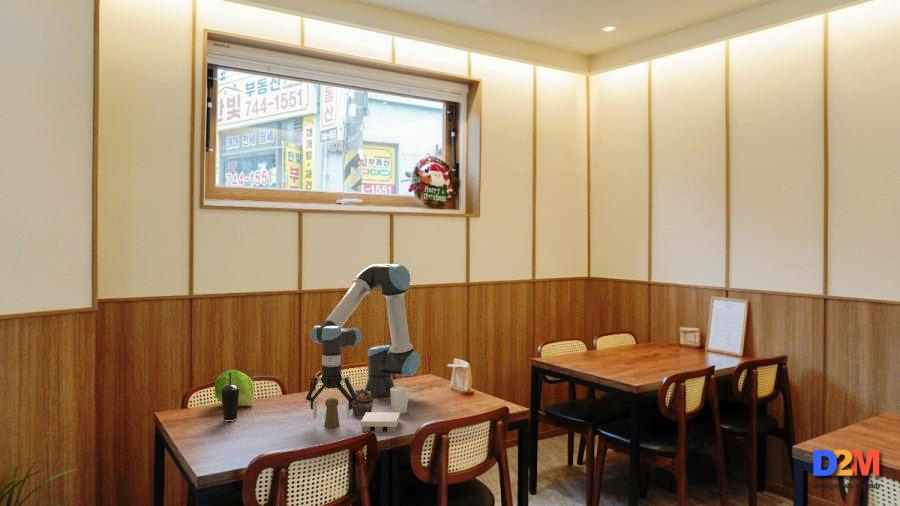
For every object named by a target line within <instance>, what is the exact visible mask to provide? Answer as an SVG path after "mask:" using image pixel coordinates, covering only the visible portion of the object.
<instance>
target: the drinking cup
mask: <svg viewBox="0 0 900 506" xmlns="http://www.w3.org/2000/svg"><path fill="white" fill-rule="evenodd" d="M239 389H240V386H237V385H232V384H231V372H229V385H226V386H224V387H222V388H220V390H221V395H222V403H221V404H222V413H223V421H224V420H234V419H238V408H239V406H238V397H239Z"/></svg>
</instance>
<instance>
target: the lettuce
mask: <svg viewBox="0 0 900 506" xmlns="http://www.w3.org/2000/svg"><path fill="white" fill-rule="evenodd" d="M229 372H231V384H232V385H237V386H240V389H239V397H238V407H251V406H252V405H253V404H254V402H255V388H254V383H253V380H252V378H250V377H249V376H248V375H247V374H246V373H244V372H241V371H239V370H236V369H230V370H226V371H224V372H222V373H220V375H219V376H218V377H217V379H216V381H215V382H214V383H215V384H214V395H215V396H214V397H215V398H216V399H218V401H219V402H220V403H221V404H222V395H221V390H220V388H222V387H224V386H226V385H229Z"/></svg>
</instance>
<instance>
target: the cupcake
mask: <svg viewBox="0 0 900 506" xmlns="http://www.w3.org/2000/svg"><path fill="white" fill-rule="evenodd" d="M354 392H355V394H356V396H357V399H356V400H355V401H352V409H351V410H352V414H353V415H356V416H364V415H365V413H366V412H373V405H374V399H373V397H372V396H371V392H370V391H369V390H368V391H366V390H365V388H362V389H359V390H358V389H357V390H354Z"/></svg>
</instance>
